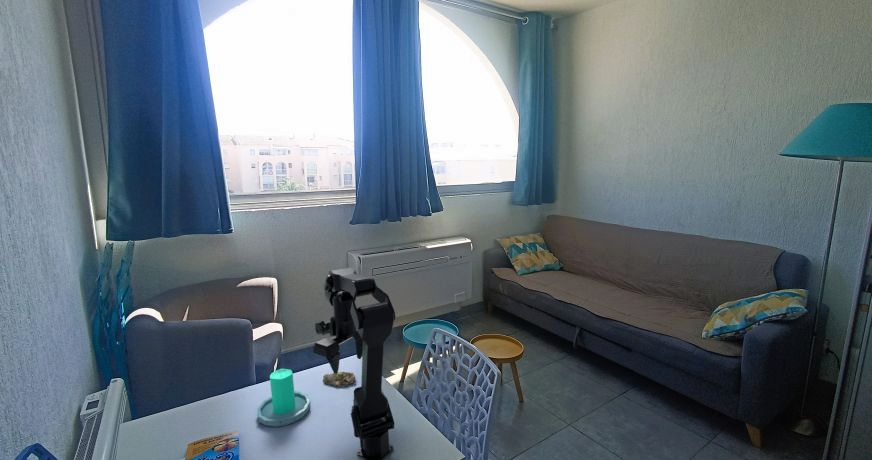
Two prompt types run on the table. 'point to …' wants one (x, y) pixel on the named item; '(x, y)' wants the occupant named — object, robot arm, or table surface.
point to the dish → (273, 419)
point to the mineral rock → (339, 379)
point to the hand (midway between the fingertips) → (347, 365)
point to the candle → (282, 391)
